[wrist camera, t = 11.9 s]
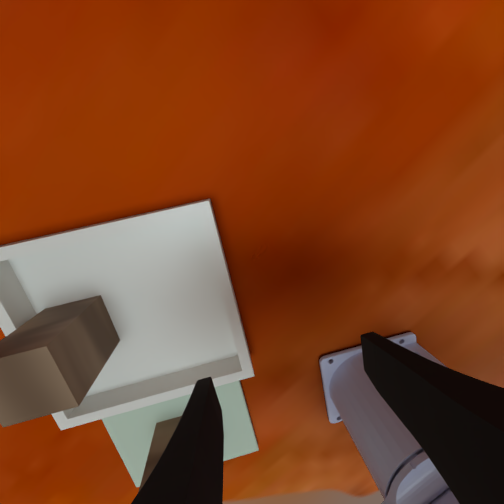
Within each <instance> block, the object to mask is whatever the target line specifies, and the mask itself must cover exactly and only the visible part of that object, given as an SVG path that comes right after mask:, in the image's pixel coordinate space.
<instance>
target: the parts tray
mask: <svg viewBox="0 0 504 504" xmlns="http://www.w3.org/2000/svg"><path fill="white" fill-rule="evenodd" d="M99 295H101V297H102V299H103V301H104V304H105V306H106V308H107V311H108V313H109V315H110V318H111V320H112V322H113V325H114V327H115V329H116V332H117V334H118V336H119V338H120V342H119V343H118V345H117V346H116V348H115V350H114V351H113V353H112V354H111V356H110V358H109V359H108V361H107V362H106V364H105V365H104V367H103V369H102V370H101V372H100V373H99V375H98V377H97V378H96V380H95V381H94V383H93V385H92V386H91V388H90V389H89V391H88V393H87V394H86V396H85V397H84V399H83V401H82V402H81V404H80V405H79V406H78V407H75V408H71V409H68V410H64V411H60V412H57V413H53V414H52V416H53V418H54V419H55V421H56V423H57V424H58V426H59V428H60V430H64V429H67V428H71V427H74V426H78V425H81V424H85V423H89V422H92V421H96V420H99V419H103V418H106V417H110V416H114V415H117V414H121V413H124V412H128V411H131V410H135V409H139V408H142V407H146V406H149V405H153V404H156V403H160V402H164V401H167V400H171V399H174V398H178V397H182V396H185V395H189V394H192V391H193V389H194V387H195V384H196V382H197V381H198V380H200V379H203V378H207V377H211V378H212V381H213V384H214V387H217V386H221V385H224V384H228V383H232V382H235V381H239V380H242V379H246V378H249V377H253V376H254V371H253V366H252V361H251V356H250V352H249V348H248V344H247V340H246V336H245V332H244V328H243V324H242V320H241V317H240V313H239V309H238V305H237V301H236V297H235V293H234V289H233V285H232V281H231V277H230V274H229V270H228V266H227V262H226V258H225V254H224V250H223V246H222V242H221V238H220V234H219V231H218V227H217V223H216V219H215V215H214V211H213V207H212V203H211V199H205V200H201V201H196V202H192V203H187V204H183V205H178V206H174V207H170V208H165V209H161V210H156V211H152V212H147V213H143V214H138V215H134V216H129V217H125V218H121V219H116V220H112V221H107V222H103V223H98V224H94V225H89V226H85V227H81V228H76V229H72V230H67V231H63V232H58V233H54V234H49V235H45V236H41V237H36V238H32V239H27V240H23V241H18V242H14V243H9V244H5V245H0V327H1V329H2V331H3V332H4V334H5V336H8V335H9V334H10V333H12V332H13V331H14V330H16V329H17V328H19V327H20V326H21V325H23V324H24V323H26V322H27V321H28V320H30V319H31V318H33V317H34V316H35V315H37V314H38V313H40V312H41V311H42V310H44V309H46V308H50V307H54V306H58V305H62V304H66V303H70V302H74V301H78V300H82V299H87V298H91V297H95V296H99Z"/></svg>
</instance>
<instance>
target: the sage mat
mask: <svg viewBox="0 0 504 504" xmlns="http://www.w3.org/2000/svg"><path fill="white" fill-rule="evenodd" d="M215 390H216V393H217V397H218V400H219V403H220V406H221V409H222V417H223V430H224V458H223V461H225V460H228V459H232V458H235V457H238V456H242V455H245V454H248V453H252V452H255V451H258V450H259V449H258V443H257V440H256V436H255V433H254V429H253V426H252V422H251V418H250V415H249V411H248V408H247V404H246V401H245V397H244V394H243V390H242V386H241V383H240V380H239V381H235V382H232V383H228V384H224V385H221V386H217V387H215ZM190 396H191V394H189V395H185V396H182V397H178V398H174V399H171V400H167V401H164V402H160V403H156V404H153V405H149V406H146V407H142V408H139V409H135V410H131V411H128V412H124V413H121V414H117V415H114V416H110V417H106V418H103V419H102V421H103V423H104V425H105V427H106V429H107V431H108V433H109V435H110V436H111V438H112V440H113V442H114V444H115V446H116V448H117V450H118V452H119V454H120V456H121V458H122V460H123V462H124V464H125V466H126V468H127V470H128V472H129V473H130V475H131V477H132V479H133V481H134V483H135V485H136V487H139V486H140V484H141V481H142V477H143V473H144V469H145V465H146V461H147V457H148V453H149V450H150V446H151V442H152V438H153V434H154V430H155V426H156V423H158V422H162V421H165V420H169V419H172V418H176V417H180V416H182V414H183V412H184V410H185V408H186V405H187V403H188V401H189V399H190Z"/></svg>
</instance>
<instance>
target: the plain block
mask: <svg viewBox="0 0 504 504" xmlns="http://www.w3.org/2000/svg"><path fill="white" fill-rule="evenodd" d="M119 342H120V338H119V336H118V334H117V332H116V329H115V327H114V325H113V322H112V320H111V318H110V315H109V313H108V311H107V308H106V306H105V304H104V301H103V299H102V297H101V295H99V296H95V297H91V298H87V299H82V300H78V301H74V302H70V303H66V304H62V305H58V306H54V307H50V308H46V309H44V310H42V311H41V312H40V313H38V314H37V315H35V316H34V317H33V318H31V319H30V320H28V321H27V322H26V323H24V324H23V325H21V326H20V327H19V328H17V329H16V330H14V331H13V332H12V333H10V334H9V335H8V336H6V337H5V338H3V339H2V340H1V341H0V423H1V425H2V426H3V427H6V426H9V425H13V424H17V423H20V422H24V421H27V420H31V419H35V418H38V417H42V416H46V415H49V414H53V413H57V412H60V411H64V410H68V409H71V408H75V407H78V406H79V405H80V404H81V402H82V401H83V399H84V397H85V396H86V394H87V393H88V391H89V389H90V388H91V386H92V385H93V383H94V381H95V380H96V378H97V377H98V375H99V373H100V372H101V370H102V369H103V367H104V365H105V364H106V362H107V361H108V359H109V358H110V356H111V354H112V353H113V351H114V350H115V348H116V346H117V345H118V343H119Z"/></svg>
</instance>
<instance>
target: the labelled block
mask: <svg viewBox="0 0 504 504" xmlns="http://www.w3.org/2000/svg"><path fill="white" fill-rule="evenodd" d="M180 419H181V416H180V417H176V418H172V419H169V420H165V421H162V422H158V423H156V426H155V430H154V434H153V438H152V442H151V446H150V450H149V453H148V457H147V461H146V465H145V469H144V473H143V477H142V481H141V484H140V488H139V491H140V490H141V488H142V487H143V485H144V484H145V482H146V480H147V479H148V477H149V476H150V474H151V472H152V471H153V469H154V467H155V466H156V464H157V462H158V461H159V459H160V457H161V455H162V454H163V452H164V450H165V448H166V446H167V444H168V442H169V440H170V439H171V437H172V435H173V433H174V431H175V429H176V427H177V425H178V423H179V421H180ZM138 493H139V492H138Z"/></svg>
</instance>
